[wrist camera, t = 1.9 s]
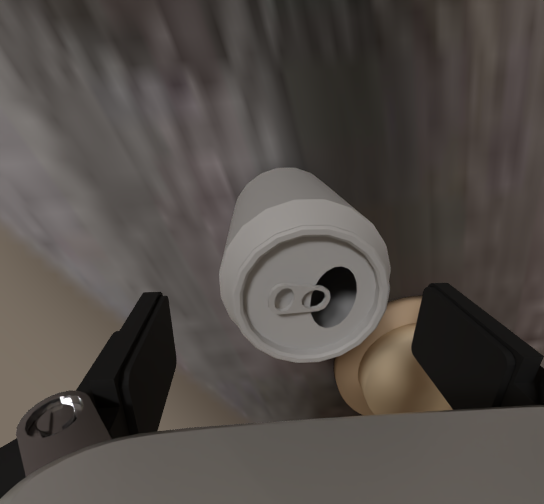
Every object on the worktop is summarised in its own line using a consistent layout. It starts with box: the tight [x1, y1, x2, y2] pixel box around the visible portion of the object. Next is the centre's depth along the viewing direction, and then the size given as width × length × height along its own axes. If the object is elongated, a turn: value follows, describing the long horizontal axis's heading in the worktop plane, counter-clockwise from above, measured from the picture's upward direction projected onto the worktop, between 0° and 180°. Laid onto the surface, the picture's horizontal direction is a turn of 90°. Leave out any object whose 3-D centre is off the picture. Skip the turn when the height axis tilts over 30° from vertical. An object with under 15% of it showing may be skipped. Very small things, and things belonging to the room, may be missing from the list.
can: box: [219, 168, 391, 363], centre depth 17 cm, size 8×8×12 cm
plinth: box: [334, 296, 453, 415], centre depth 27 cm, size 14×14×3 cm
